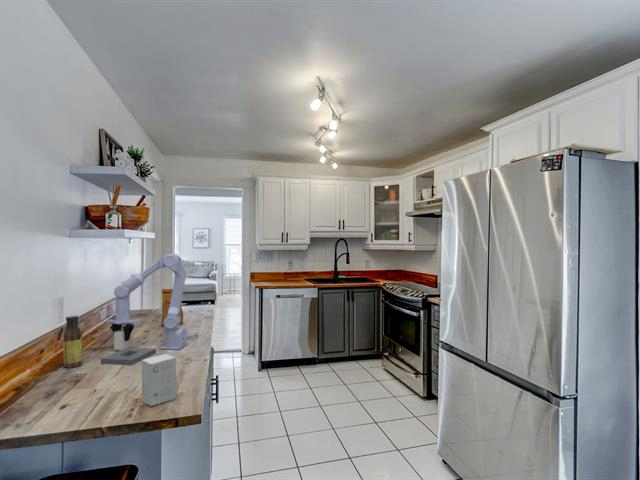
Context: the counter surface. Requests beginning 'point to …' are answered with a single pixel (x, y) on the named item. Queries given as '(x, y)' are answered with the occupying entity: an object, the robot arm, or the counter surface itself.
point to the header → (128, 356)
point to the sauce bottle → (72, 343)
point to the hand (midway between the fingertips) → (122, 340)
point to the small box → (158, 379)
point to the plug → (120, 340)
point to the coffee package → (168, 305)
